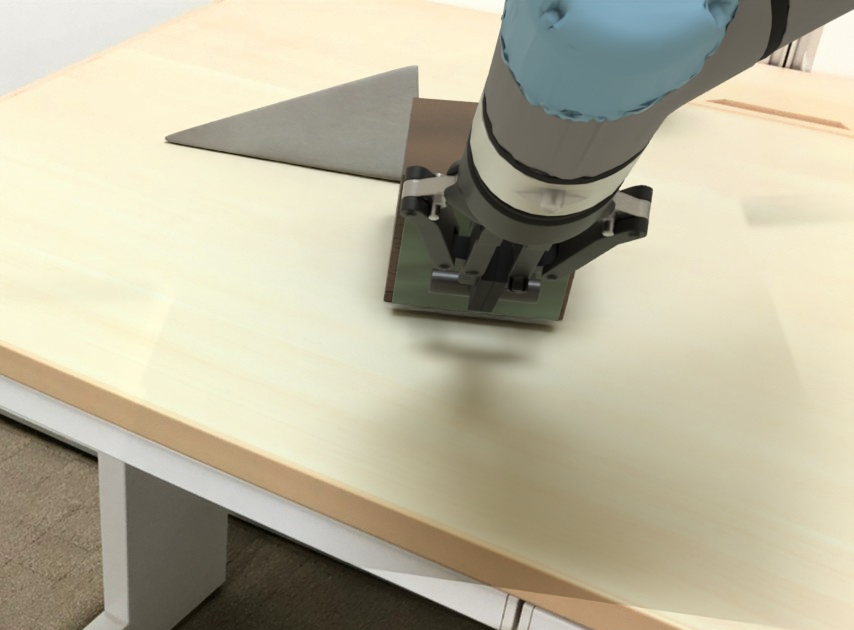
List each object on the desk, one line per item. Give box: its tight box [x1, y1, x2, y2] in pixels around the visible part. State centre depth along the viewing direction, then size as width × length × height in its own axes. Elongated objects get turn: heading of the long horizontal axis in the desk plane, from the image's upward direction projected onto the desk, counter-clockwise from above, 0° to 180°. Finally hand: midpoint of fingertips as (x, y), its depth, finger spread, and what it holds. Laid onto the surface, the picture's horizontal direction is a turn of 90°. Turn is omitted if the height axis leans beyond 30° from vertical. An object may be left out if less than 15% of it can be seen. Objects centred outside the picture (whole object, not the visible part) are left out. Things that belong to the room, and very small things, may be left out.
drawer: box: [391, 206, 570, 322], centre depth 88 cm, size 18×11×8 cm, turn 167°
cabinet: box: [383, 97, 576, 320], centre depth 92 cm, size 15×13×10 cm
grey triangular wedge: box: [164, 64, 420, 182], centre depth 109 cm, size 10×8×22 cm
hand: (482, 291), depth 81 cm, fingers closed
